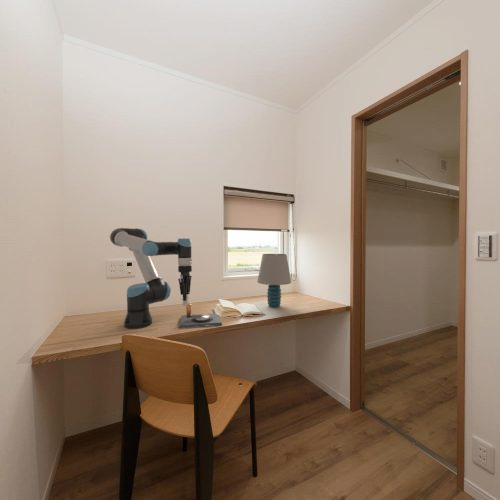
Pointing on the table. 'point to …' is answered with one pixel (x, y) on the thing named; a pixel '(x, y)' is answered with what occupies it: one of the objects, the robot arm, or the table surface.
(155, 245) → the robot arm
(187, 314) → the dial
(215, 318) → the panel
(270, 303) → the lamp
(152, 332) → the table surface
